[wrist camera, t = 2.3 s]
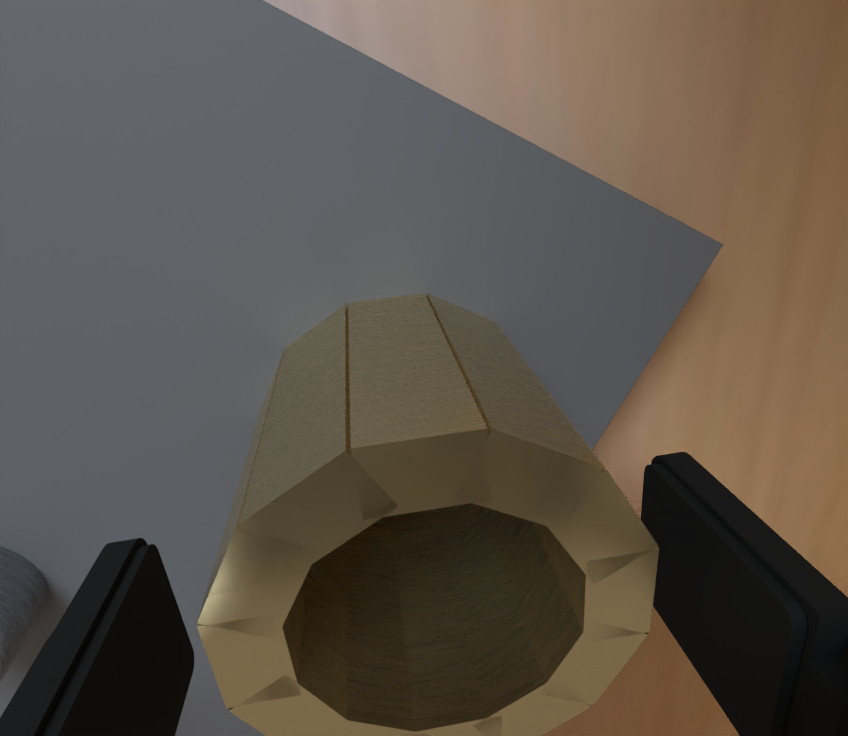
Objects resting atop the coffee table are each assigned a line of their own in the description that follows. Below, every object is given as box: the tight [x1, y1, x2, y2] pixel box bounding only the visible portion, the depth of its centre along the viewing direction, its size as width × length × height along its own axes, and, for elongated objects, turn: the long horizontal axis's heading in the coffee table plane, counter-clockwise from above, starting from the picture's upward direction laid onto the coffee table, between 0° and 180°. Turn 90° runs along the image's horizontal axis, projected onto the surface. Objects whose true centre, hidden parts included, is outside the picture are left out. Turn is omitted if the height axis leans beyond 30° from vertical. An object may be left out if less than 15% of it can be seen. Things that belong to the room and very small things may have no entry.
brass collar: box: [197, 293, 659, 736], centre depth 11 cm, size 7×7×6 cm
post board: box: [0, 0, 723, 736], centre depth 11 cm, size 20×18×8 cm
